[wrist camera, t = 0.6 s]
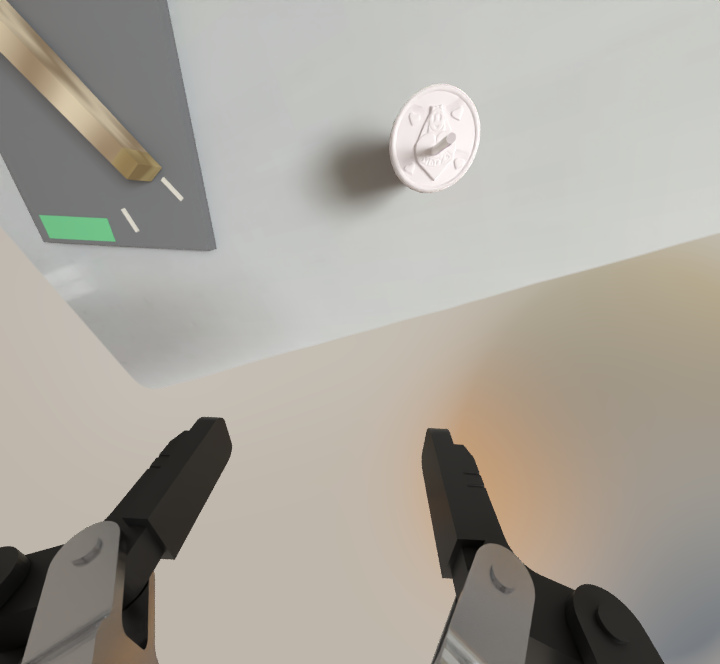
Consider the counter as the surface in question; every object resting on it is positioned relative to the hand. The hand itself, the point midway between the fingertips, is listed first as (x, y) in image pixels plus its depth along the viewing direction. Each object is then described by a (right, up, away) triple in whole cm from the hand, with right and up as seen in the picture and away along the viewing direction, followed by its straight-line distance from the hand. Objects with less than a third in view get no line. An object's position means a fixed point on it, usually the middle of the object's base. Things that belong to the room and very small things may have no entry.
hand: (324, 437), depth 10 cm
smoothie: (+7, +22, +17) cm, 29 cm away
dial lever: (-26, +28, +13) cm, 40 cm away
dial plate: (-26, +26, +16) cm, 40 cm away
